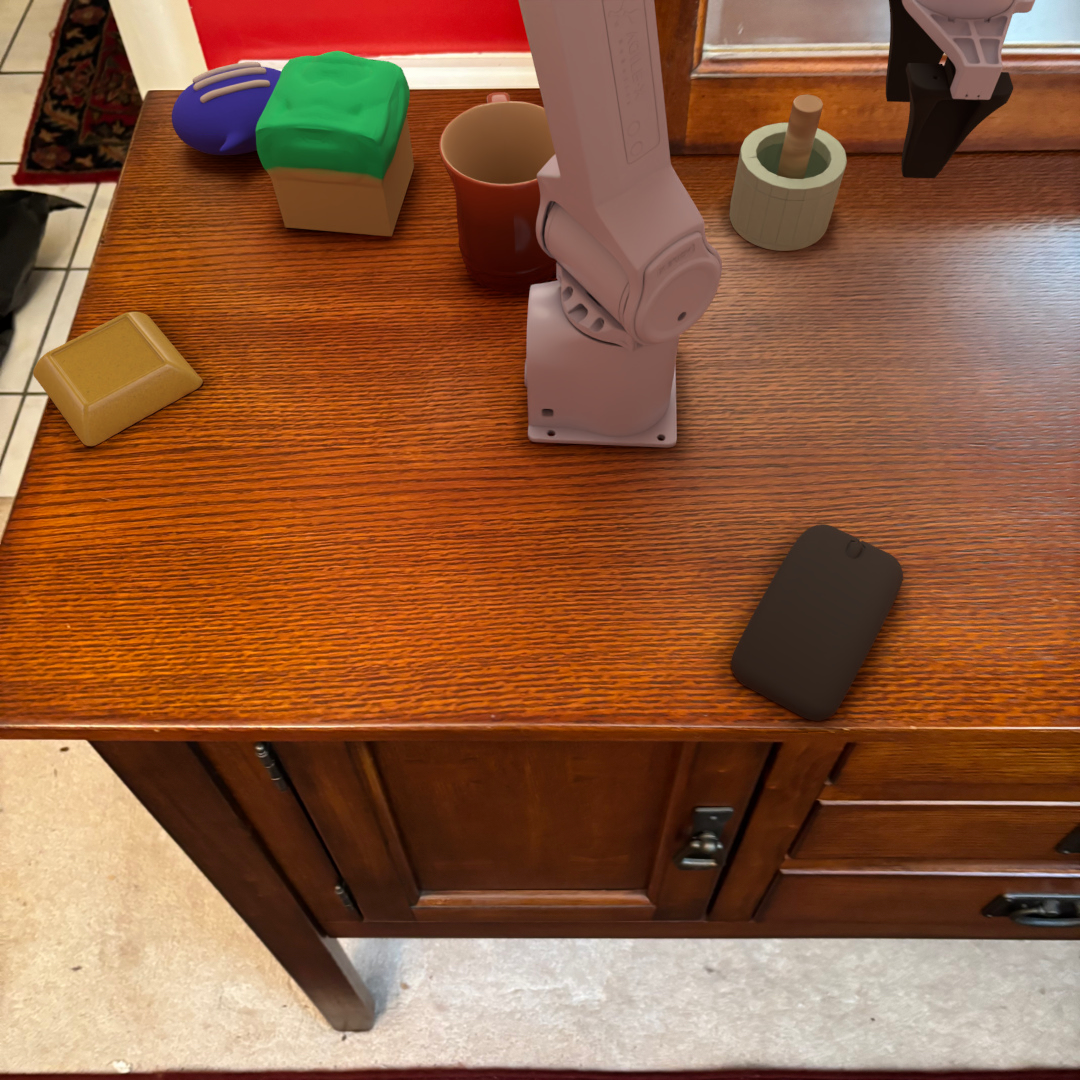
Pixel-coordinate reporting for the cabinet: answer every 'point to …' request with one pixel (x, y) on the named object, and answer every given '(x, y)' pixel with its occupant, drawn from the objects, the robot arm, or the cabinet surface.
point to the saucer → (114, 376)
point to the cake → (338, 143)
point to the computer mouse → (817, 621)
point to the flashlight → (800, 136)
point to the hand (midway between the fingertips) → (909, 135)
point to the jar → (784, 191)
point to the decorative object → (224, 108)
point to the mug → (499, 190)
